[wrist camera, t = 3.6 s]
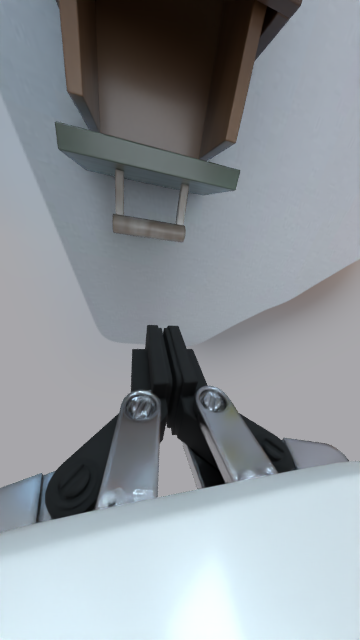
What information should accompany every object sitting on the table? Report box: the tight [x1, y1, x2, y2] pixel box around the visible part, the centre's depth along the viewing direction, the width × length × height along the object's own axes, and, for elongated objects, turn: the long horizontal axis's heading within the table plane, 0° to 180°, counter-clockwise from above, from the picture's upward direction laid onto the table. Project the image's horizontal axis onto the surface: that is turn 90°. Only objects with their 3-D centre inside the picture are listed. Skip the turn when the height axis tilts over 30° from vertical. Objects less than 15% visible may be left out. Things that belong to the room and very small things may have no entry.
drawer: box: [55, 0, 267, 242], centre depth 13 cm, size 18×11×7 cm, turn 171°
